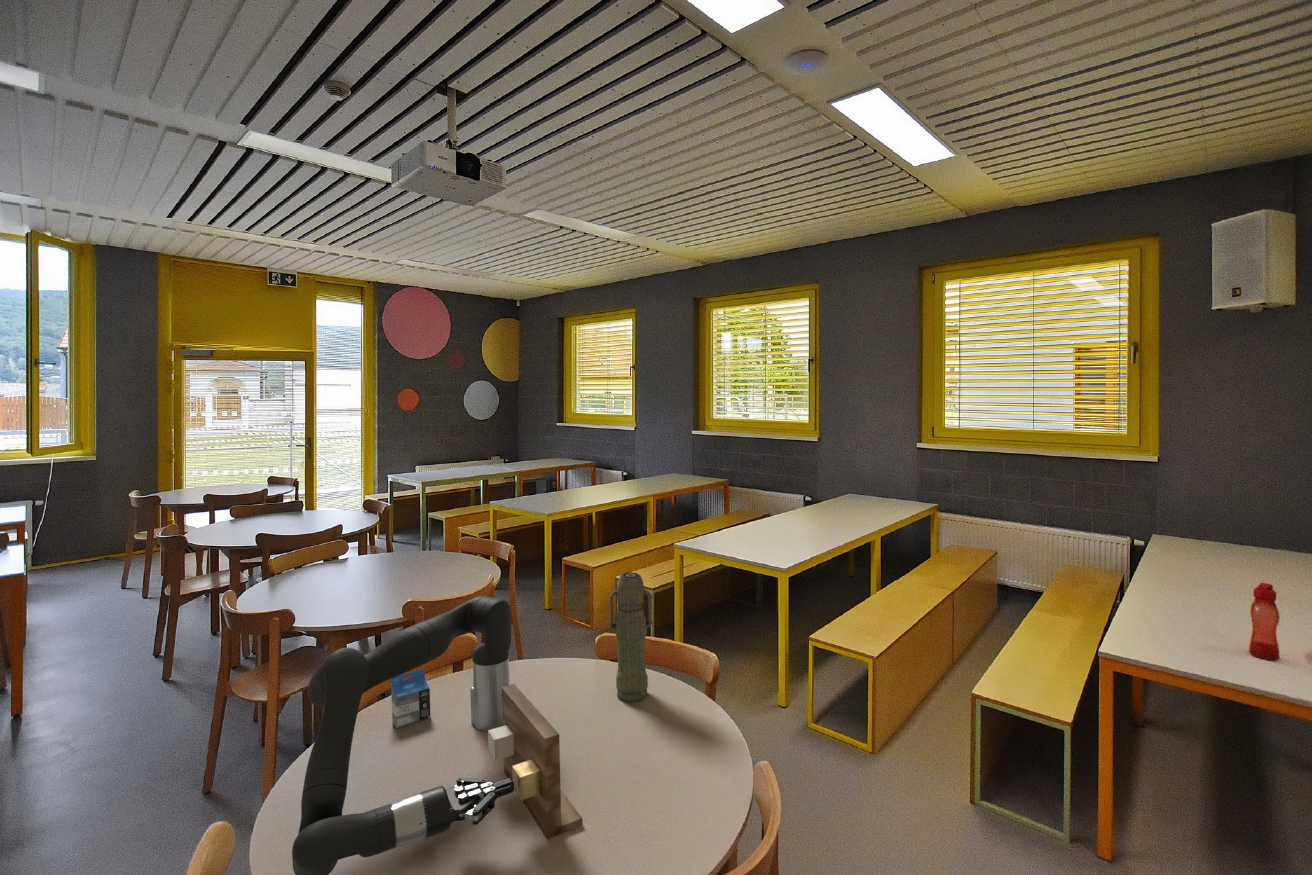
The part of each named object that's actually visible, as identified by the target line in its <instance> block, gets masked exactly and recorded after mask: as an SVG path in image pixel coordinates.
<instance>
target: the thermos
mask: <svg viewBox="0 0 1312 875" xmlns="http://www.w3.org/2000/svg"><path fill="white" fill-rule="evenodd" d="M645 595H646V596H647V602H648V604H647V607H648V608H647V611H648V612H647V614H646V610H645V605H644V602H645ZM614 596H616V597H617V612H616V614H615V622H614ZM652 598H653V595H652V593H651V592H650V591H649V590H647V589H645V585H644V581H643V578H642V575H641V574H639V573H637V572H633V571H632V572H624V573H622V574H621V575H619V578H618V581H617V585H616V589H615V590H612V592H611V593H610V595H609V615H610V616H609V618H610V620H609V622H610V628H611V629H612V628H613V629H614V630H615V637H616V638H617V671H616V677H615V679H616V680H615V682H616V683H615V684H616V685H615V686H616V689H617V692H616V697H618V698H617V699H618V700H619V699H620V700H619V701H621V702H624V701H625V702H624V703H629V704H630V703H631V704H632V703H638V701H639V702H642V701H644V700H645V699H646V698H647V697H648V687H649V686H648V685H649V682H648V680H649V678H648V673H647V670H646V666H647V665H646V660H647V659H646V637H647V634H648V630H647V629H648V628H650V627H651V626H652V625H653V620H652V618H653V617H652V609H653V605H652V604H653V599H652ZM647 616H648V617H647ZM647 619H648V620H647ZM643 699H644V700H643Z"/></svg>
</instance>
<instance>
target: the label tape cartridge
mask: <svg viewBox="0 0 1312 875" xmlns="http://www.w3.org/2000/svg"><path fill="white" fill-rule="evenodd" d="M425 675H426V674H425V668H421V669H419V670H418V669H417V670H415V671H411V672H406V673H404V674H402V675H399V676H397V677H395V678H392V679H390V681H391V719H392V720H391V721H392V724H393V726H394V727H395V728H396V727H397V728H396V729H399V728H402V727H406V726H410V725H412V724H414V723H415V724H416V723H417V722H421V721H424V720H427V719H430V718H432V717H431V694H430V692H431V690H430V686H429V683H428V681H427V679H426V676H425ZM408 677H409V678H410V679H407V678H408ZM412 677H413V678H412ZM406 679H407V680H406Z"/></svg>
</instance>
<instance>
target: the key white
mask: <svg viewBox="0 0 1312 875" xmlns="http://www.w3.org/2000/svg"><path fill="white" fill-rule="evenodd" d="M487 738H488V743H487V744H488V752H489V754H490V755H491V756H492V758H493V760H494V762H495V761H498V760H502V759H503V758H505V757H509V756H512V755H514V733H513V732H512V731H511V729H510V728H509V727H508V725H505V726H502V727H498V728H495V729H491V730H488V731H487Z"/></svg>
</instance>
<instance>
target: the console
mask: <svg viewBox="0 0 1312 875" xmlns="http://www.w3.org/2000/svg"><path fill="white" fill-rule="evenodd" d="M501 689H502V726H505V725H508V727H509V728H510V729H511V731H512V732H513V733H514V755H512V756H509V757H505V758H502V759H503V774H504V775H505V777H506V779H508V778H511V779H512V781H513V777H512V766H513V765H516V764H520V763H523V762H526V761H529V760H532V759H533V760H534V761H535V762H536V764H537V765H538V766H539V768H540V769H541V787H542V793H541V794H538V795H535V796H532V797H530V798H527V799H524V800H521V802H522V803H523V804H524V806H525V808H526V809H527V810H528V812H529V814H530V815H531V817H532V818H533V820H534V821H535V823H536V824H537V826H538V828H539V829H540V831H541V832H542V834H543V836H544V837H545V839H546V840H549V839H552V838H554V837H556V836H559V835H561V834H564V833H567V832H569V831H573V829H576V828H579V827H581V826H583V817H582V816H581V814H580V813H579V812H578V810H577V809H576V808H575V806H574V805H573V804H572V802H571V801H570V800H569V799H568V797H567V796H566V794H565V793H564V792H563V791H562V788H561V755H560V754H561V751H560V750H561V749H560V733H559V732H558V731H557V730H556V729H555V728H554V727H553V726H552V724H551V723H550V722H549V721H548V719H546V718H545V717H544V715H543V714H542V713H541V712H540V711H539V709H537V707H536V706H535V705H534V704H533V703H532V702H531V700H530V699H529V698H528V697H527V696H526V695H525V693H524V692H522V691H521V689H520V688H519V687H518V686H517V685H516V684H515V683H510V685H507V686H503V687H501Z"/></svg>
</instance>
